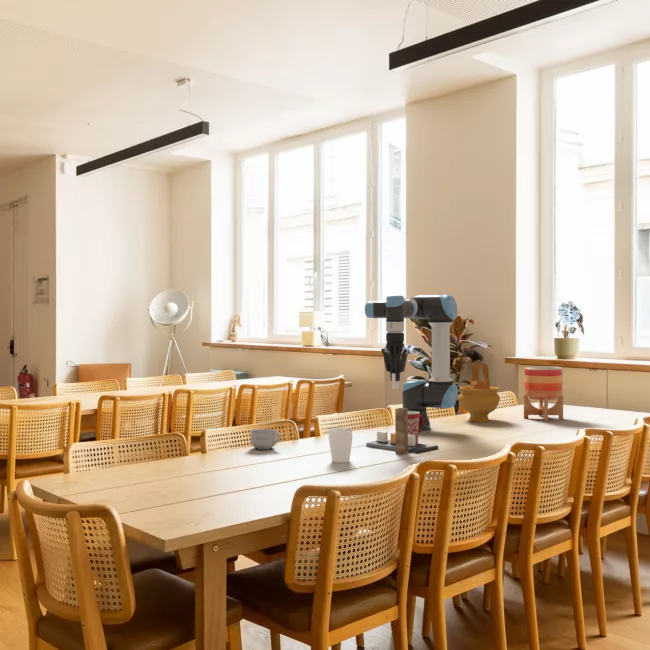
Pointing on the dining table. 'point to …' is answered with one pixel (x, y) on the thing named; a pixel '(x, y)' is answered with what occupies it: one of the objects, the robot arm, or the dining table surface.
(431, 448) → the dark grey rod
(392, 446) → the switch plate
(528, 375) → the planter
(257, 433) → the teacup
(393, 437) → the block
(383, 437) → the paddle
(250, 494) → the dining table surface
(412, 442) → the cream rectangular box
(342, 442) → the cup
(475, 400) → the cactus in yellow pot
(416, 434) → the mug
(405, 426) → the post
